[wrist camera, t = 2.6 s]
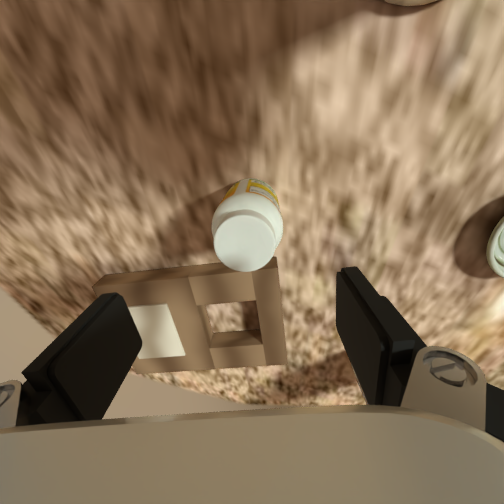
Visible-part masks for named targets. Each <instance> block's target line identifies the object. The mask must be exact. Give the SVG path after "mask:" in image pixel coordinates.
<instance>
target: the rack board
mask: <svg viewBox="0 0 504 504" xmlns="http://www.w3.org/2000/svg"><path fill="white" fill-rule="evenodd" d="M92 288H93V290H94V292H95V294H96V296H97V298H98V297H99V296H100V295H101V294H104V293H113V292H117V293H119V294H120V295H122V296H123V298H124V300H125V302H126V304H127V307H128V309H129V311H130V313H131V316H132V318H133V320H134V323H135V325H136V327H137V329H138V332H139V334H140V336H141V339H142V348H141V350H140V352H139V354H138V356H137V357H136V359H135V361H134V363H133V365H132V366H133V368H134V370H135V372H136V374H149V373H164V372H179V371H194V370H209V369H224V368H239V367H254V366H269V365H284V364H288V362H287V352H286V342H285V333H284V323H283V313H282V304H281V294H280V284H279V275H278V266H277V258H276V257H272V258H271V260H270V261H269V262H268V263H267V264H266V265H265V266H263V267H262V268H260V269H258V270H255V271H250V272H241V271H236V270H233V269H231V268H229V267H227V266H226V265H224V264H223V263H212V264H203V265H193V266H184V267H175V268H165V269H156V270H146V271H137V272H128V273H118V274H109V275H105V276H104V277H103V278H102V279H100V280H99V281H98V282H97V283H96V284H95V285H94V286H93V287H92ZM253 300H256V304H257V310H258V317H259V323H260V330H247V331H235V332H222V333H213V332H212V328H211V324H210V321H209V317H208V314H207V310H206V306H205V305H209V304H220V303H231V302H242V301H253Z"/></svg>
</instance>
